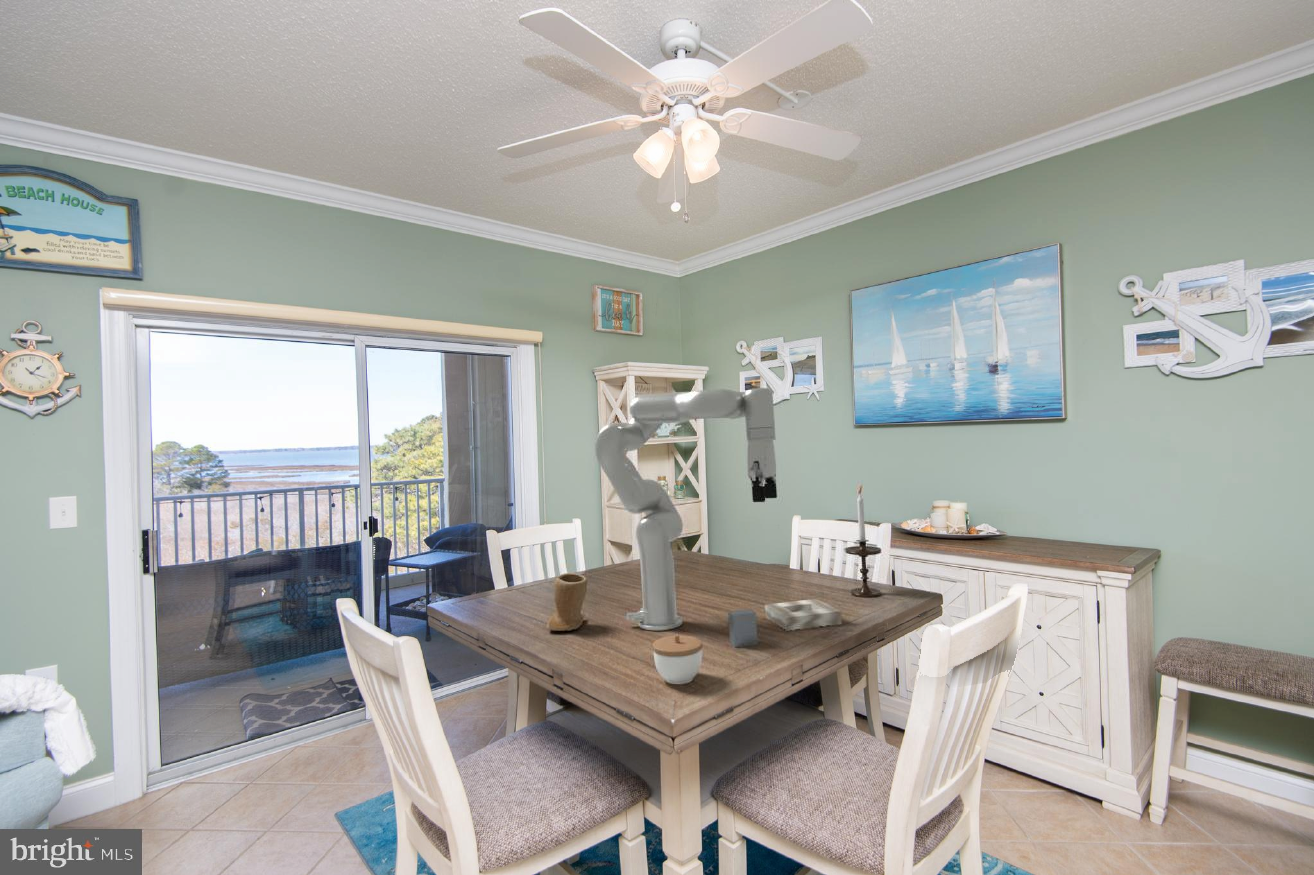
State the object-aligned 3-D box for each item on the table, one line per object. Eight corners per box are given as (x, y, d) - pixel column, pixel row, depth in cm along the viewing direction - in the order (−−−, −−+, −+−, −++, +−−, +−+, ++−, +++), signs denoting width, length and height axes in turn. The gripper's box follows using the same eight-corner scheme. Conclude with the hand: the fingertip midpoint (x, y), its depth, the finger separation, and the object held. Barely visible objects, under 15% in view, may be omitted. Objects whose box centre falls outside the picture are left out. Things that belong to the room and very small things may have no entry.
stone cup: (585, 633, 163) (582, 579, 163) (543, 635, 164) (540, 581, 164) (594, 617, 178) (591, 568, 179) (555, 619, 179) (553, 569, 179)
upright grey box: (734, 647, 145) (733, 615, 146) (730, 643, 149) (728, 611, 149) (757, 644, 147) (755, 612, 147) (752, 640, 150) (750, 608, 150)
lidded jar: (647, 686, 125) (644, 641, 125) (664, 667, 135) (662, 626, 135) (695, 691, 121) (693, 645, 121) (709, 671, 131) (707, 629, 131)
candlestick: (880, 589, 193) (873, 483, 194) (886, 598, 182) (879, 485, 183) (845, 589, 195) (839, 484, 196) (850, 598, 184) (843, 486, 185)
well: (786, 631, 156) (785, 617, 156) (765, 617, 169) (765, 604, 169) (841, 624, 159) (840, 611, 159) (816, 610, 173) (815, 598, 173)
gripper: (758, 435, 165) (762, 497, 165) (735, 436, 150) (740, 503, 149) (784, 434, 161) (788, 496, 161) (763, 434, 146) (768, 503, 146)
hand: (765, 499), depth 155 cm, fingers open, 9 cm apart
